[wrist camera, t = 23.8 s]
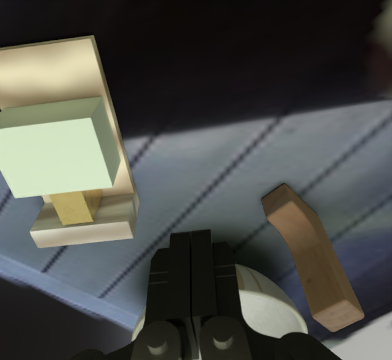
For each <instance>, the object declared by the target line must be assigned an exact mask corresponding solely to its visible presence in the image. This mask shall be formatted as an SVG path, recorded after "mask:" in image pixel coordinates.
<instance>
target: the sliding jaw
mask: <svg viewBox="0 0 392 360" xmlns="http://www.w3.org/2000/svg"><path fill="white" fill-rule="evenodd" d="M120 162H121V160H120V156H119V153H118V149H117V146H116V142H115V139H114V135H113V132H112V128H111V125H110V121H109V118H108V115H107V111H106V108H105V104H104V101H103V97H102V96H100V97H92V98H84V99H76V100H68V101H60V102H53V103H45V104H37V105H29V106H21V107H13V108H5V109H3V110H2V111H1V112H0V170H1V172H2V174H3V176H4V178H5V180H6V182H7V184H8V185H9V187H10V189H11V191H12V193H13V195H14V197H15V198H21V197H30V196H39V195H48V194H57V193H66V192H75V191H83V190H92V189H101V188H110V187H113V185H114V182H115V178H116V175H117V172H118V168H119V165H120Z"/></svg>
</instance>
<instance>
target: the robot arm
mask: <svg viewBox="0 0 392 360" xmlns="http://www.w3.org/2000/svg"><path fill="white" fill-rule="evenodd" d="M199 350H200V355H201V360H342V359H340V358H339V357H338V356H337V355H335V354H334V353H333V352H331V351H330V350H329V349H328V348H327V347H325V346H324V345H323V344H322V343H320V342H319V341H318V340H317V339H315V338H314V337H312V336H311V335H309V334H306V333H303V332H290V333H287V334H285V335H283V336H282V337H281V338H276V337H272V336H268V335H264V334H261V333H259V332H257V331H255V330H254V329H252V328H251V327H250V326H249V325H248V324H247V323H246V321H245V319H244V317H243V314H242V308H241V301H240V294H239V287H238V280H237V273H236V267H235V260H234V253H233V251H232V249H231V248H230V246H229V245H228V244H227V242H219V243H212V235H211V229H207V230H198V231H191V232H190V231H189V232H179V233H171V235H170V248H162V249H158V250H157V251H156V253H155V255H154V256H153V258H152V260H151V267H150V276H149V285H148V293H147V302H146V311H145V320H144V325H143V328H142V329H141V331H140V332H139V333H138V335H137V337H136V339H135V340H134V341H132V342H131V343H130V344H128V345H127V346H125V347H123V348H121V349H118V350H116V351H114V352H111V353H109V354H106V355H105V354H104V353H103V352H101V351H100V350H97V349H86V350H83V351H80V352H78V353H76V354H75V355H74V356H72V357H71V358H70V359H69V360H197V359H199Z"/></svg>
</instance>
